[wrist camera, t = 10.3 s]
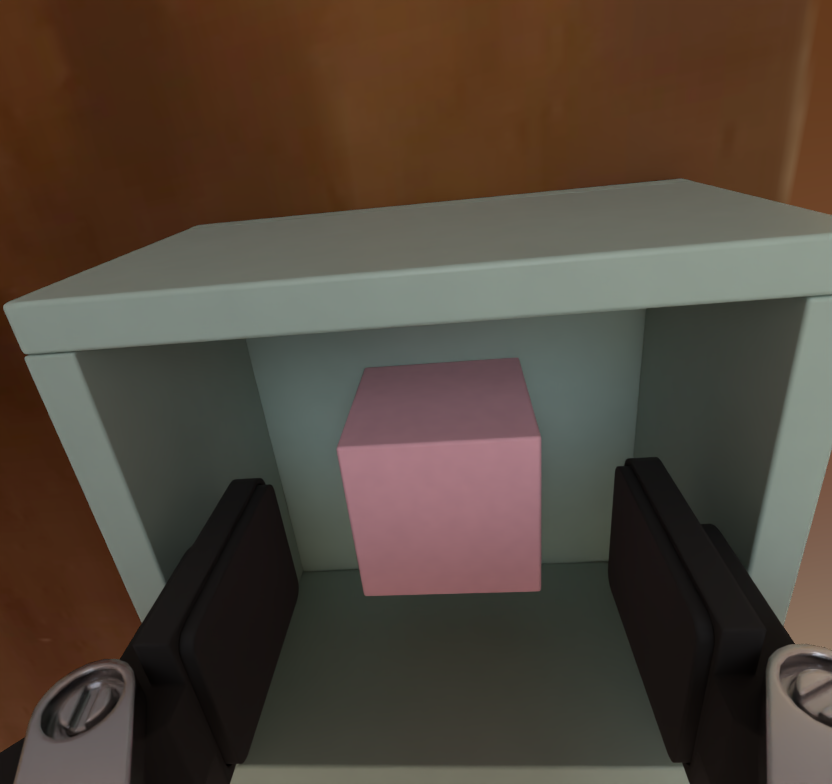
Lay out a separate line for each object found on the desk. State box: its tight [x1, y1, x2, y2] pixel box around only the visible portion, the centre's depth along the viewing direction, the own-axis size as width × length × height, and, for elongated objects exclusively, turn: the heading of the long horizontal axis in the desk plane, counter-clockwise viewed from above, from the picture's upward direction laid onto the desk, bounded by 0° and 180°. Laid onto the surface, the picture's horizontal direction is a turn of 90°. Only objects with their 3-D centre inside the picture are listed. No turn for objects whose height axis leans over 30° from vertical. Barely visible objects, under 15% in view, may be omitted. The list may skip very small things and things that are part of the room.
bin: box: [3, 179, 832, 784], centre depth 13 cm, size 12×12×7 cm
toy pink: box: [336, 358, 541, 596], centre depth 13 cm, size 4×4×4 cm
